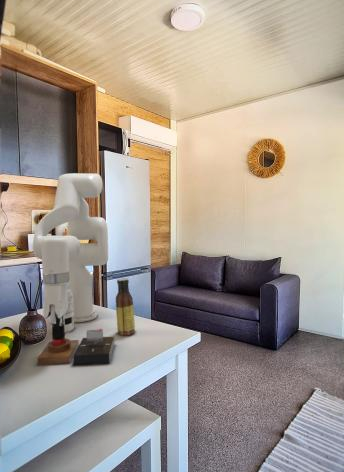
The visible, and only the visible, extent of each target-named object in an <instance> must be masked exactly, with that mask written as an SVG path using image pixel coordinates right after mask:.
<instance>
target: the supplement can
mask: <svg viewBox="0 0 344 472" xmlns="http://www.w3.org/2000/svg"><path fill="white" fill-rule="evenodd" d="M67 290H68V310H67V311H66V313H65V314H64V330H65V333H69V332H71V331H72V330H73V329H74V328H75V322H74V311H73V293H72V292H71V290H70V289H68V288H67ZM50 316H51V315H50ZM50 316H49V317H50ZM50 332H52V324H50Z"/></svg>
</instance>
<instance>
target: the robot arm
mask: <svg viewBox="0 0 344 472" xmlns="http://www.w3.org/2000/svg"><path fill="white" fill-rule="evenodd" d="M103 184H104V183H103V179H102V176H101V175H100V174H99V173H77V172H74V173H64V174H61V175H59V176H58V178H57V185H56V191H55V198H54V204H53V208H52V209H51V210H50V211H48V212H47V213H46V214H45V215H44V216H43V217H42V218H41V219H40V220H39V221H38V223H37V225H36V227H35V230H34V234H33V240H32V253H33V255H34V257H36V258H37V259H39V260H41V270H42V271H41V272H42V285H43V286H44V287H43V303H42V306H43V309H42V310H43V314H42V315H43V319H44V320H47V319H48V318H50V319H49V321H50V322H49V325H51V324H52V331H51V335H52V336H51V337H52V340H53V339H63V338H64V337H66V334H65V330H64V314H65V313H66V311H67V310H68V290H67V289H70V290H71V292H72V293H73V311H74V323H86V322H90V321H92V320H95V319H96V318H98V317H97V316H98V314H97V311H94V305H93V303H94V302H93V278H92V274H91V272H90V271H89V270H88V268H87V267H93V266H95V267H96V266H104V265H106V264H107V263H108V260H109V233H108V231H109V229H108V223H107V221H106V219H105V218H103V217H101V216H90V206H89V204H88V202H87V200H86V199H96V198H98V197H99V195H100V194H102V191H103V186H104V185H103ZM66 223H67V230H68V231H67V232H68V235H48V234H49V233H50V232H51V231H52V230H53V229H56V228H57V227H59V226H61V225H64V224H66ZM80 241H96V242H80ZM50 315H51V316H50Z"/></svg>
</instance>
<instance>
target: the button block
mask: <svg viewBox="0 0 344 472" xmlns="http://www.w3.org/2000/svg"><path fill="white" fill-rule="evenodd" d="M79 345H80V341H79V339H76V340H75V339H71V340H70V339H69V338H65V344H62V345H53V339H52V340H51V341H48V343H47V344H46V346H45V347H44V349H43V350H42V351H41V353H40V354H39V355H38V356H37V358H36V360H37V366H45V365H63V364H64V365H65V364H70V363H71V362H72V360H73V359H74V357H73V356H74V354H75V352H76V350H77V348H78V346H79Z"/></svg>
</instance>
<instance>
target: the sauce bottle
mask: <svg viewBox="0 0 344 472" xmlns="http://www.w3.org/2000/svg"><path fill="white" fill-rule="evenodd" d="M129 282H130V281H129V278H126V277H123V278H118V279H116V283H117V294H116V295H115V310H116V311H115V312H116V314H115V315H116V326H117V327H116V328H117V333H118V335H119V336H130V335H133V334H135V332H136V331H135V328H136V325H135V311H134V300H133V296H132V295H131V292H130V289H129Z"/></svg>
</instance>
